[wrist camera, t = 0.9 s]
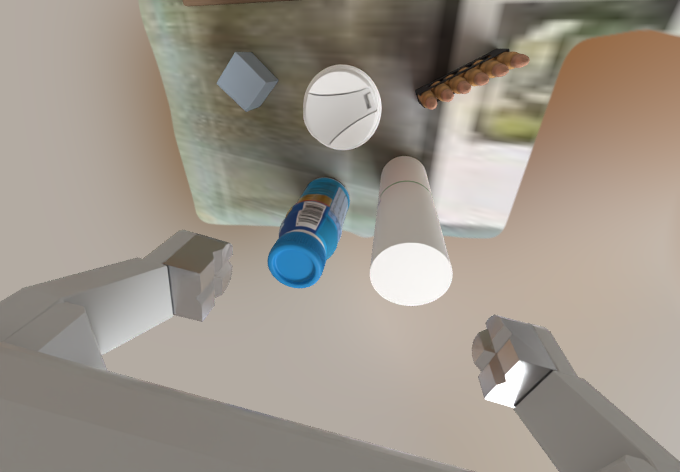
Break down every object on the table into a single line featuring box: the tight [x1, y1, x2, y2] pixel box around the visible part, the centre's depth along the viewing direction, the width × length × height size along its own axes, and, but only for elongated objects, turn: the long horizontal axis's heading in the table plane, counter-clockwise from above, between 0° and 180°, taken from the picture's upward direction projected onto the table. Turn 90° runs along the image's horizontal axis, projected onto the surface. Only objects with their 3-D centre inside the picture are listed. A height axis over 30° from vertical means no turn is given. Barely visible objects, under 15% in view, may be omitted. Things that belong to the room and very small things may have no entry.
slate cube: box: [216, 52, 279, 112], centre depth 41 cm, size 5×5×5 cm
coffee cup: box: [303, 64, 382, 150], centre depth 35 cm, size 8×8×15 cm
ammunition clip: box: [415, 49, 529, 109], centre depth 33 cm, size 11×2×12 cm, turn 117°
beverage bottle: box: [268, 177, 350, 288], centre depth 42 cm, size 8×8×20 cm
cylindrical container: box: [370, 156, 453, 306], centre depth 36 cm, size 7×7×25 cm
